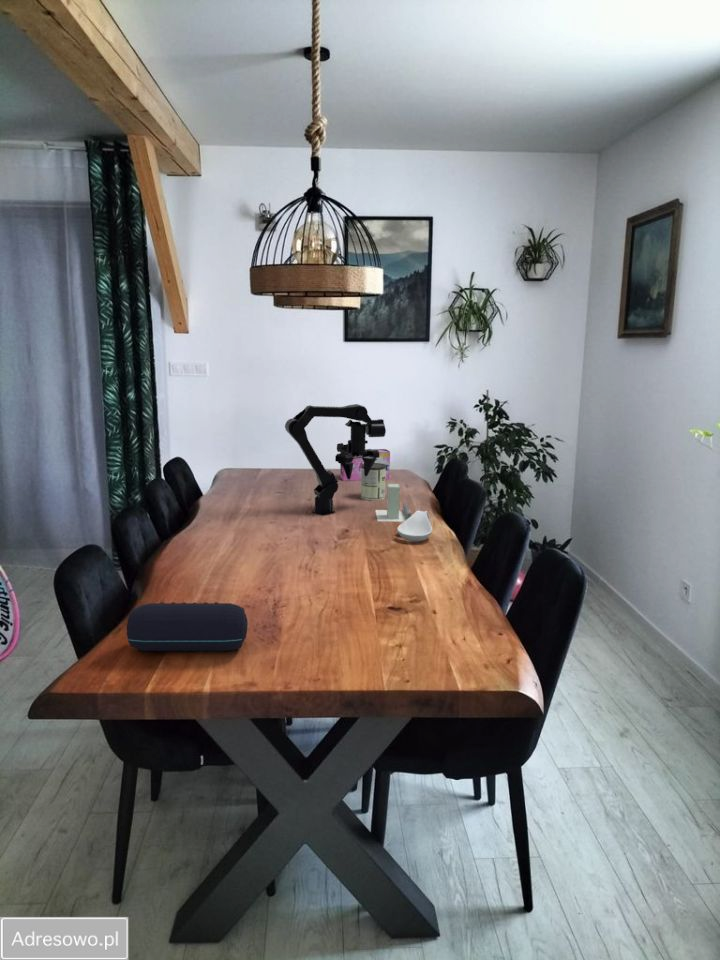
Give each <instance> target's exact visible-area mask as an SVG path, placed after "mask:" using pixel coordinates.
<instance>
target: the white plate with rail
mask: <svg viewBox="0 0 720 960" xmlns="http://www.w3.org/2000/svg"><path fill="white" fill-rule="evenodd" d="M375 515H376V520H377V522H395V523H396V522H398V523H399V522H401V523H403V522H404V521H406V520H407V519H408V518H409V517H411V516H412V513H411V509H410V508H409V505H408V503H407V502H403V505H402V510H400V509H399V519H388V517H387V509H375Z"/></svg>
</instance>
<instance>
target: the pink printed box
mask: <svg viewBox="0 0 720 960" xmlns="http://www.w3.org/2000/svg"><path fill="white" fill-rule="evenodd" d="M372 449H373V448H372ZM365 450H366V448H365ZM373 450H378V451H379V458H377V460H376V461H375V462H374V463H381V464H385V465H386V473H385V479H386V480H390V470H391V469H390V466H391V451H390V450H388V449H385V448H375V449H373ZM359 456H361V455H359ZM352 463H353V468H352V474H351V478H350V481H361V478H362V467H361V465H362V464H364V461H363V459H362V458H356V459H353V461H352ZM339 464H340V463H339ZM340 478H341V480H343V481H345V482H346V481H349V479H347V476H346V473H345V470H344V468H343V466H342V465H341V464H340Z"/></svg>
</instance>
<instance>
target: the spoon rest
mask: <svg viewBox="0 0 720 960" xmlns="http://www.w3.org/2000/svg"><path fill="white" fill-rule="evenodd" d="M430 519H431V518H430V515H429V512H428V511H427V510H425V511H422V510H416V511H415V512H414V513H413V514H411V517H409V518H408V519H407V520H406V521H404V522H401V523H400V524H399V526H397V528H396V531H397V533H398V535H399V536H400V537H401V538H402V539H404V540H405V541H408V542H415V543H417V542H418V543H419V542H422V541H425V540H426V539H428V538H429V537H430V536H431V534H432V532H433V527H432V524H431V520H430Z"/></svg>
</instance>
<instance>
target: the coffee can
mask: <svg viewBox="0 0 720 960" xmlns="http://www.w3.org/2000/svg"><path fill="white" fill-rule="evenodd" d="M361 467H362V478H361V480H360V481H361V485H360V486H361V487H360V488H361V490H360V491H361V492H360V493H361V494H360V498H361V499H362V500H365V501H375V500H379V501H382V500H385V499H386V480H385V473H386V465H385V464H381V463H374V464H373V466H372V467H371V469H370V471H369V473H368V475H367V476H365V475H364V464H362V465H361Z"/></svg>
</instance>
